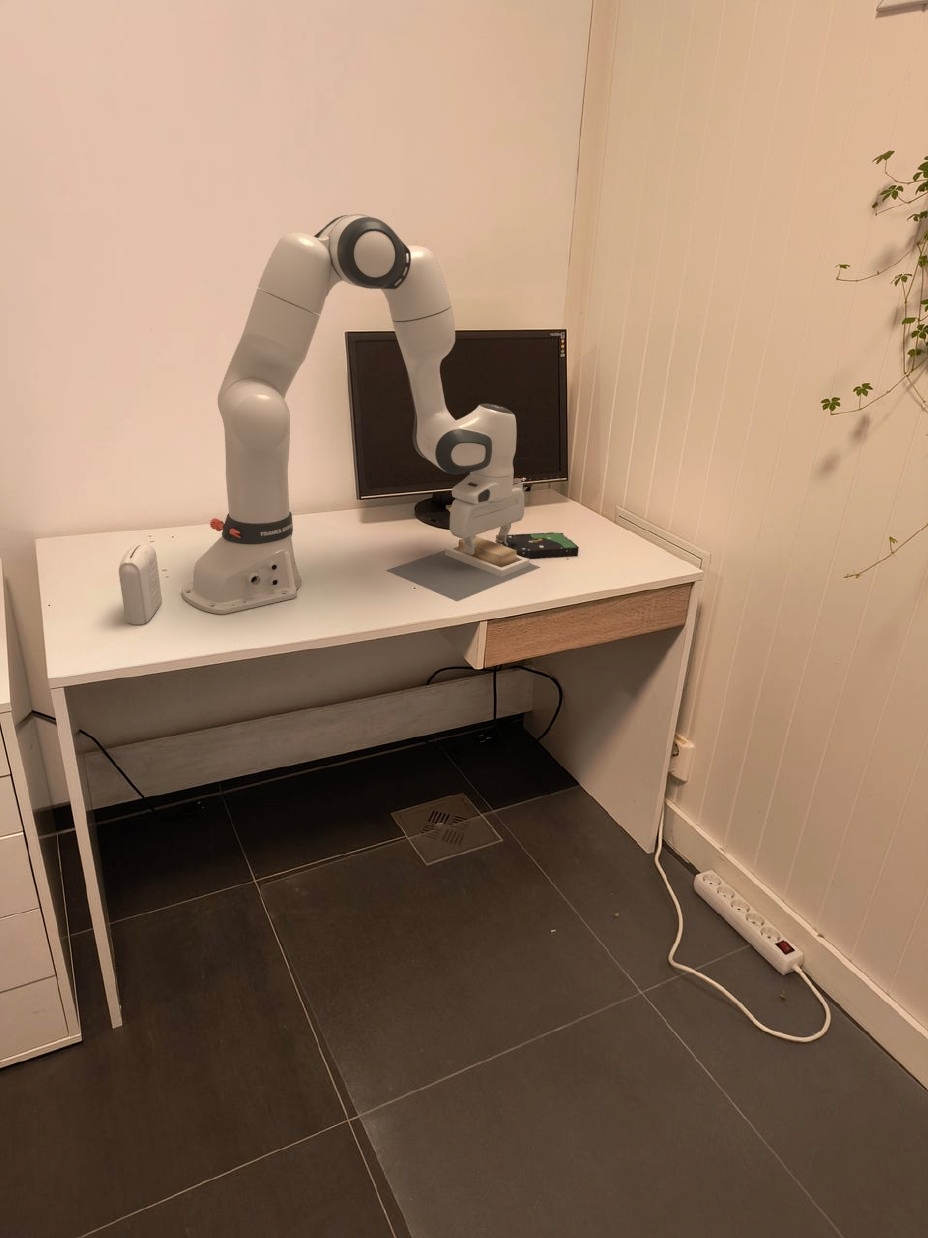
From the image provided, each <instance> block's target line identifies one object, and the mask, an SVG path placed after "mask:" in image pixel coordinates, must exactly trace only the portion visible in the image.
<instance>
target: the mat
mask: <svg viewBox="0 0 928 1238" xmlns="http://www.w3.org/2000/svg"><path fill="white" fill-rule="evenodd" d="M458 547H459V543H458V544H455V545H452V546H449V547H446V548H445V550H442V551H439V552H436V553H433V554H430V555H427V556H424V557H421V558H418V559H415V560H412V561H410V562H409V561H408V562H406V563H403V564H400V565H397V566H394V567H392V568H388V569H386V570H385V571H386V572H388V573H391V574H393V575H395V576H397V577H400V578H403V579H405V580H406V581H407V580H408V581H410V582H411V583H414V584H416V585H418V586H421V587H423V588H425V589H427V590H430V591H432V592H435V593H436V594H439V595H441V596H444V597H445V598H448V599H451V600H453V601H455V602H458V601H462V600H464V599H466V598H469V597H471V596H474V595H476V594H479V593H482V592H483V591H486V590H489V589H491V588H493V587H496V586H498V585H501V584H504V583H506V582H508V581H511V580H513V579H516V578H518V577H520V576H521V577H522V575H525V574H528V573H530V572H533V571H536V570H538V569H540V568H541V566H538V565H536V564H533V563H531V562H530V559H528V558H523V557H521V556H518V555H516V562H515V563H512V564H510V565H507V566H505V567H502V568H501V567H498V566H496V565H493V564H490V563H488V562H485V561H483V560H480V559H477V558H475V557H472V556H470V555H467V554H464V553H462V552H459V551H458Z"/></svg>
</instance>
